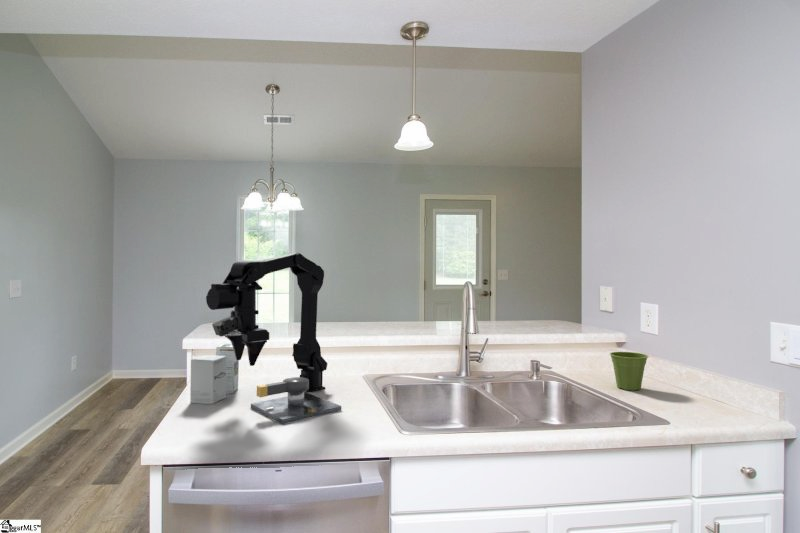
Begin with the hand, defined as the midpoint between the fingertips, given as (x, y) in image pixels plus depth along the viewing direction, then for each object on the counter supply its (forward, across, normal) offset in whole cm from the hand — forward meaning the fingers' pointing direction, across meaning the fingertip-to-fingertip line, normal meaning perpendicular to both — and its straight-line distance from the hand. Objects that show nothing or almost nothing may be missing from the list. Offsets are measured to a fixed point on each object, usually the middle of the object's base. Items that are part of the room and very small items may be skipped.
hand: (245, 362), depth 137 cm
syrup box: (+13, -20, +2) cm, 24 cm away
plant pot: (+14, +57, +108) cm, 123 cm away
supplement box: (+13, -14, -5) cm, 19 cm away
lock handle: (+7, +10, +7) cm, 14 cm away
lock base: (+13, +10, +10) cm, 19 cm away
